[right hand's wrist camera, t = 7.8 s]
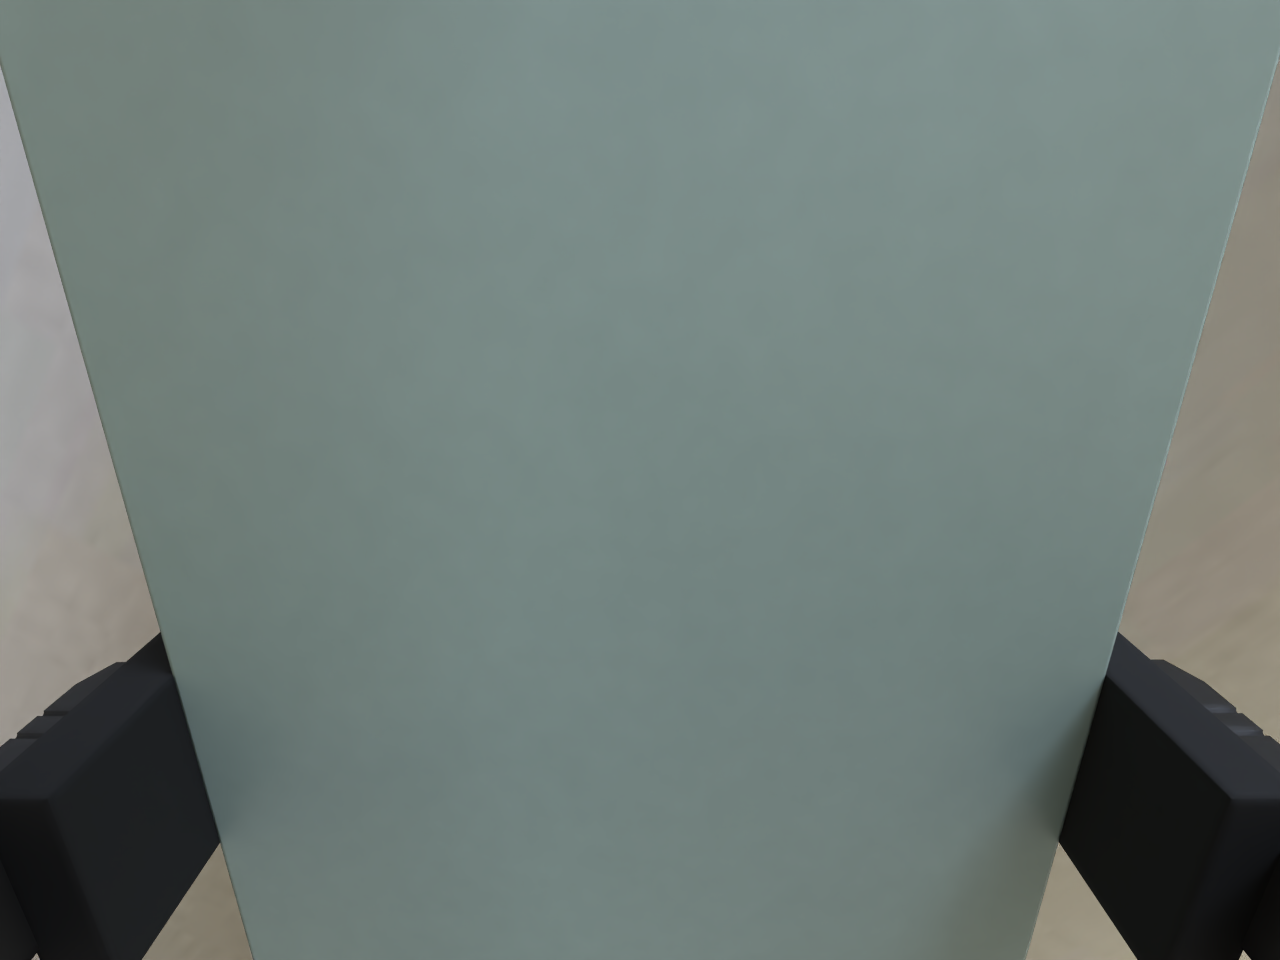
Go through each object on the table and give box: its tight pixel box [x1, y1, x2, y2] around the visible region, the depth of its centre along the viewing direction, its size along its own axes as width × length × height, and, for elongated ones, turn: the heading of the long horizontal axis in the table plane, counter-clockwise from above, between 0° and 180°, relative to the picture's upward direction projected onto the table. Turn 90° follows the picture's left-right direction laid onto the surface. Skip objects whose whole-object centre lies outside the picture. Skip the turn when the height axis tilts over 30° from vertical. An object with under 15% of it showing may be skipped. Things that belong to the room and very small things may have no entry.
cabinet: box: [0, 0, 1280, 960], centre depth 13 cm, size 16×11×11 cm
